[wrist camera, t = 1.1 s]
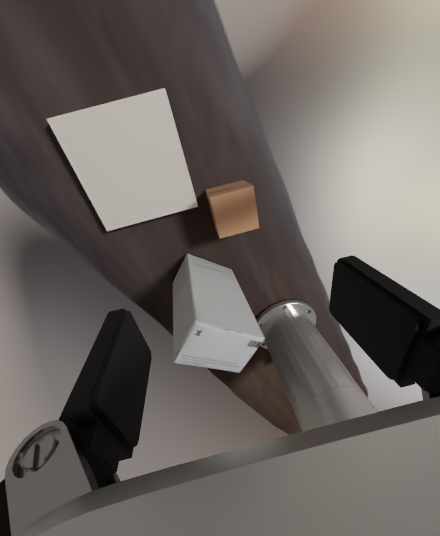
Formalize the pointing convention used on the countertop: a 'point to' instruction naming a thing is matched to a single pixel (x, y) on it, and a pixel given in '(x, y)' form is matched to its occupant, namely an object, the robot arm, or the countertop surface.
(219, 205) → the wooden cube
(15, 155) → the countertop surface
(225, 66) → the countertop surface
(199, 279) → the skincare box
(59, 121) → the chopping board
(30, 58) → the countertop surface
